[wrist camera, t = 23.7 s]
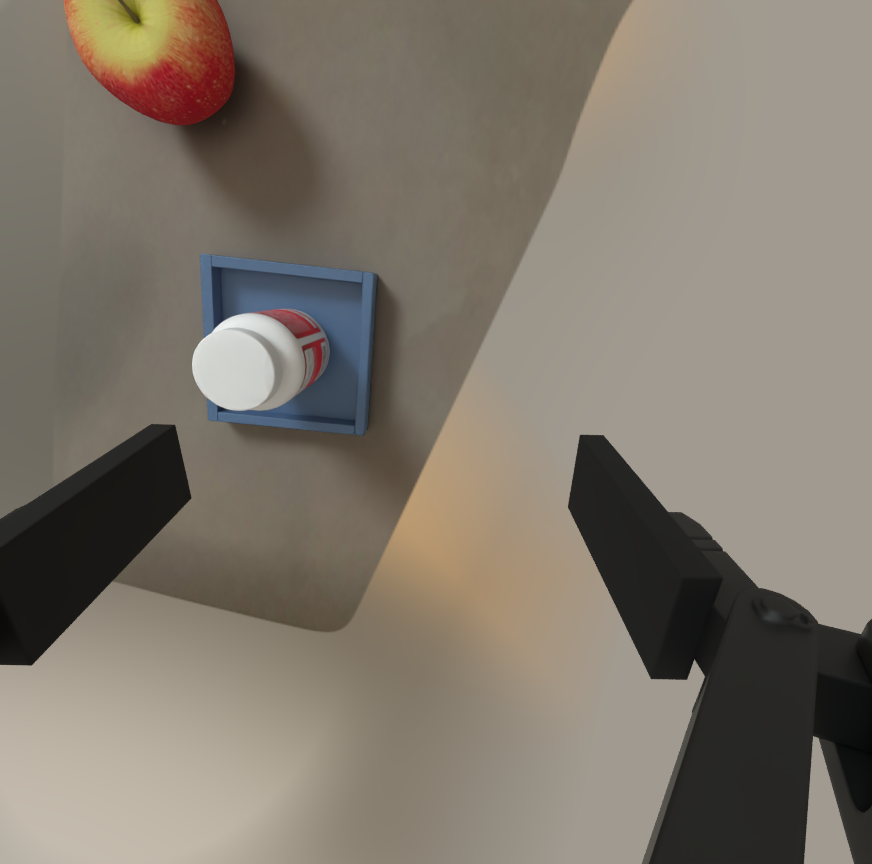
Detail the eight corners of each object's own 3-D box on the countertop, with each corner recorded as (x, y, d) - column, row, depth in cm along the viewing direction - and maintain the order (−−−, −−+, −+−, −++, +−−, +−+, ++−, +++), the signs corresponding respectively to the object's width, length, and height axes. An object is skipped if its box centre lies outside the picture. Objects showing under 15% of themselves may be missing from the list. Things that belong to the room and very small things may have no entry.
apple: (248, -4, 29) (158, -145, 20) (262, 144, 32) (189, 81, 22) (122, -4, 29) (-27, -146, 20) (147, 144, 32) (25, 81, 22)
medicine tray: (377, 274, 35) (374, 273, 33) (367, 428, 38) (364, 436, 36) (213, 255, 34) (199, 253, 32) (219, 413, 38) (207, 420, 36)
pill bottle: (240, 325, 35) (156, 339, 25) (310, 296, 34) (255, 297, 24) (276, 397, 37) (212, 439, 26) (344, 370, 36) (306, 402, 26)
